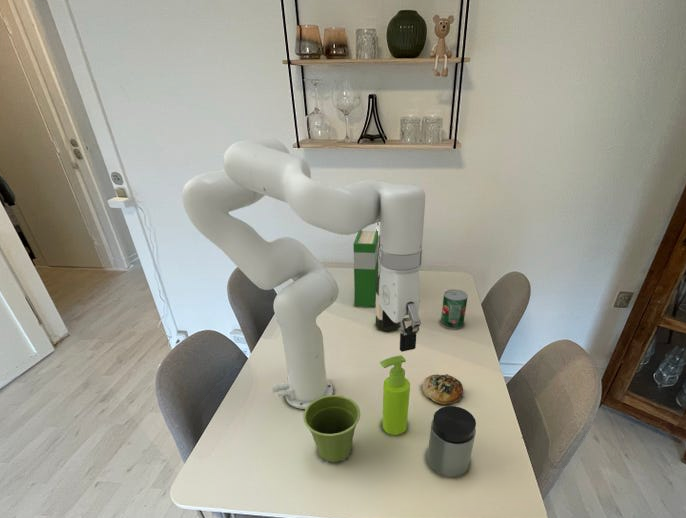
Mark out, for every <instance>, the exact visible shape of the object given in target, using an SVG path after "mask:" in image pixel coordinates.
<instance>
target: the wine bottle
mask: <svg viewBox="0 0 686 518" xmlns="http://www.w3.org/2000/svg"><path fill="white" fill-rule="evenodd" d="M379 280H380V275H378V279H377V280H376V302H375V327H376V328H377V330H378V331H381V332H385V333H392V332H396V331H398V329H399V328H401V325H400V322H398V323H397V325H396V326H391V327H386V328H384V327H383V326H382V311H383V309H382V307H381V306H380V304H379Z"/></svg>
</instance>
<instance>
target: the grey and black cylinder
mask: <svg viewBox="0 0 686 518" xmlns="http://www.w3.org/2000/svg"><path fill="white" fill-rule="evenodd" d="M430 423H431V424H430V430H429V431H430V432H429V438H428V446H427V455H426V459H427V464H428V466H429V467H430V468H431V470H432V471H434V472H435V473H436V474H438V475H440V476H443V477H446V478H458V477H460V476H462V475H464V474H465V473H466V472H467V471H468V469H469V467H470V461H471V458H472V453H473V448H474V445H475V444H474V443H475V438H476V434H477V428H476V427H477V421H476V418H475V417H474V415H473V414H472V413H471V412H470V411H468V410H467V409H465V408H463V407H460V406H455V405H446V406H442V407H440V408H438V409H437V410H436V411H435V412H434V414H433V418H432V420H431V422H430Z"/></svg>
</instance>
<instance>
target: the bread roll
mask: <svg viewBox="0 0 686 518" xmlns="http://www.w3.org/2000/svg"><path fill="white" fill-rule="evenodd" d="M421 387H422V392H423V394H424V396H426V398H428V399H430V400H432V401H433V402H434V403H437V404H440V405H450V404H453V403H455V402H458V401H460V400H461V399H462V398H463V394H464V387H463V384H462V382H461V381H460V380H459V379H458V378H456V377H455V376H452V375H450V374H447V373H446V374H438V373H436V374H431V375H428V376H427V377H425V378H424V380H423V382H422V386H421Z"/></svg>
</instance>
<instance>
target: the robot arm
mask: <svg viewBox="0 0 686 518" xmlns="http://www.w3.org/2000/svg"><path fill="white" fill-rule="evenodd" d="M222 166H223V168H222V169H218V170H213V171H207V172H203V173H201V174H198V175H195V176H194V177H192V178H190V179H188V180H187V182H186V183H184V186H183V188H182V192H181V198H182V204H183V207H184V210H185V213H186V215H187V217H188V219H189V220H190V222H191V224H192V225H193V226H194V227H195V229H196V230H197V231H198V232H199V233H200V234H201V235H202V236H204V237H205V238H206V239H207V240H209V241H210V242H211V243H212V244H214V245H215V246H216V247H217V248H218V249H220V250H221V251H222V252H223V253H224V254H225V255H226V256H227V257H228V258H229V259H230V261H231V262H232V263H233V264H234V265H235V266H236V267H237V268H238V269H239V270H240V271H241V272H242V273H243V275H245V276H246V277H247V278H248V280H250V281H251V282H252V283H253V284H254V285H255V286H256V287H258V289H260V290H263V291H269V290H273V289H275V288H277V287H279V286H280V285H282V284H284V283H286V282H287V281H289V280H292V281H293V282H291V283H289V284H287V285H286V286H284V287H283V288H282V289H280V291H279V292H278V293H277V294H276V295H275V297H274V300H273V312H274V315H275V318H276V320H277V322H278V325H279V328H280V329H279V330H280V333H281V337H282V344H283V349H284V355H285V363H286V369H287V375H288V377H286V381H283V383H280V384H279V383H277V384H273V385H272V384H271V390H272V393H274V394H275V393H277V396H278V398H280V397H284V396H285V400H286V402H287V403H288V404H289V405H290V406H292V407H293V408H296V409H300V410H305V409H306V408H307V406H308V405H309V404H310V403H311V402H313V401H314V400H316V399H318V398H320V397H324V396H328V395H334V387H333V384H332V383H331V382H330V380H328V379H327V374H326V357H325V346H324V337H323V332H322V330H321V328H320V327H319V325H318V324H317V318H318V317H319V316H320V315H321V314H322V313H323V312H325V311H326V310H327V309H328V308H329V307H331V306H333V304H334V303H335V302H336V301H337V299H338V296H339V293H340V292H339V286H338V283H337V281H336V279H335V277H334V276H333V275H332V273H331V272H330V271H329V270H328V269H327V268H326V267H325V266H324V265H323V264H322V262H320V260H319V259H317V257H316V256H315V255H314V254H313V253H312V252H311V251H310V250H309V249H308V248H307V247H306V246H305V245H304V244H303V243H302V242H300V240H297V239H295V238H293V237H289V236H282V237H279V238H276V239H274V240H272V241H267V240H266V239H264V238H263V237H262V236H261V235H260V234H259V233H258V232H257V231H256V229H255V228H254V227H252V226H251V225H250V224H248V223H247V222H245V221H244V220H242V219H240V218H237V217H235V216H233V215H231V214H230V212H233V211H236V210H240V209H244V208H245V207H249V206H251V205H253V204H255V203H257V202H259V201H260V200H261V199H263V198H264V197H265V196H267V197H269V198H272V199H275V200H277V201H280V202H283V203H286V204H288V205H289V207H290V209H291V210H292V211H293V212H294V213H295V214H296V216H297V217H298V218H300V219H301V220H302V221H303V222H305V223H306V224H309V225H311V226H313V227H316V228H319V229H320V230H324V231H326V232H330V233H333V234H335V235H336V234H337V235H341V236H342V235H343V236H349V235H354V234H358V232H359V231H361V230H362V231H363V230H364V229H366V228H368V227H370V226H371V225H374V224H377V223H379V225H380V226H379V227H380V229H379V245H380V246H379V251H380V253H379V257H380V258H379V259H380V261H379V267H380V271H379V276H380V280H379V304H380V306H381V307H382V309H383V311H382V326H383V327H384V328H386V327H391V326H396V325H397V323H398V322H400V329H401V332H400V333H399V351H400V352H401V353H403V352H408V351H412V350H416V347H417V334H418V333H419V331H420V326H421V324H422V320H421V318H420V315H419V312H420V272H419V270H420V269H421V267H422V259H423V241H424V228H425V227H424V225H425V211H426V192H425V190H424V189H423V188H422V187H421V186H420V185H416V184H412V183H411V184H410V183H398V184H394V183H391V182H386V181H384V180H383V181H382V180H379V179H375V178H365V179H361V180H359V181H355V182H352V183H350V184H346V185H345V186H342V187H338V186H334V185H330V184H327V183H324V182H321V181H318V180H316V179H313V178H312V175H311V167H310V165H309V163H308V161H307V160H305V159H304V158H303V157H301V156H298V155H294V154H291V153H290V151H289V149H288V148H287V147H286V145H285V144H284V143H283V142H282V141H280V140H278V139H276V138H274V137H269V136H268V137H259V138H251V139H244V140H243V139H242V140H239V141H236V142H234V143H232V144H231V145H229V147H227V148H226V150H225V152H224V154H223V158H222ZM405 316H408V317H405ZM408 322H410V325H408V326H406V323H408Z"/></svg>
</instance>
